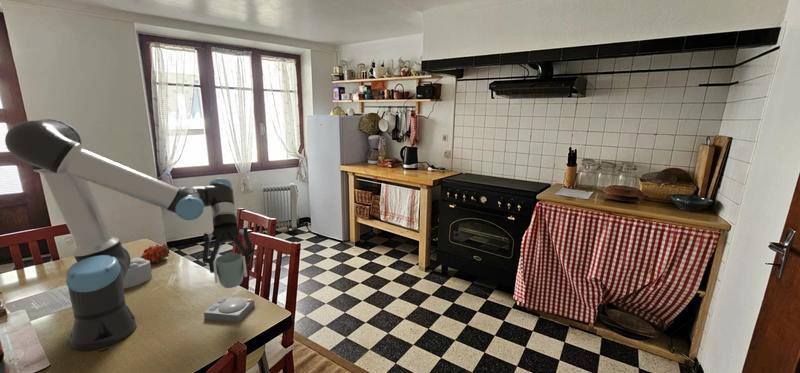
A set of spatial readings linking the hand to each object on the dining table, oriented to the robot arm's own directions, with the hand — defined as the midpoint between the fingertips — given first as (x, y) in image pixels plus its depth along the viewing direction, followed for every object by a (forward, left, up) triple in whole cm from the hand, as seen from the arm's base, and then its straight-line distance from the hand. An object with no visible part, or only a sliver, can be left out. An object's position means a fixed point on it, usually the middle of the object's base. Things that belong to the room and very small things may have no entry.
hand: (231, 278), depth 110 cm
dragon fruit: (+35, +59, -14) cm, 70 cm away
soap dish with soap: (+3, +3, -14) cm, 15 cm away
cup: (+3, +2, -4) cm, 6 cm away
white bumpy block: (+17, +54, -15) cm, 59 cm away
